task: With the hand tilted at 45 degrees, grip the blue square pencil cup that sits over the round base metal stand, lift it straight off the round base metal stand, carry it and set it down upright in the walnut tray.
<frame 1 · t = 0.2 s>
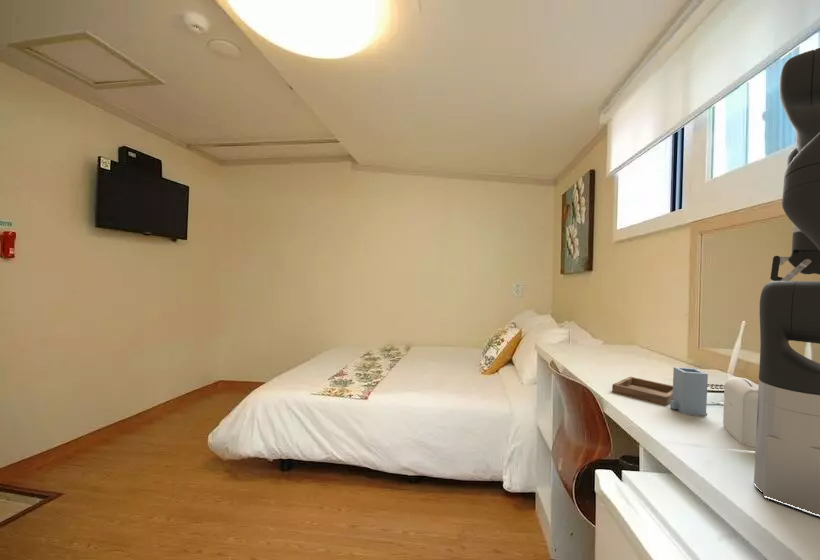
hand: (812, 300, 84), 29 cm above the table, tool pointing down, fingers open, 8 cm apart
external hard drive: (748, 412, 92), on the table
round base metal stand: (688, 412, 90), on the table
blue square pencil cup: (688, 410, 90), resting on round base metal stand
tray: (646, 394, 102), on the table
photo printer: (742, 438, 76), on the table
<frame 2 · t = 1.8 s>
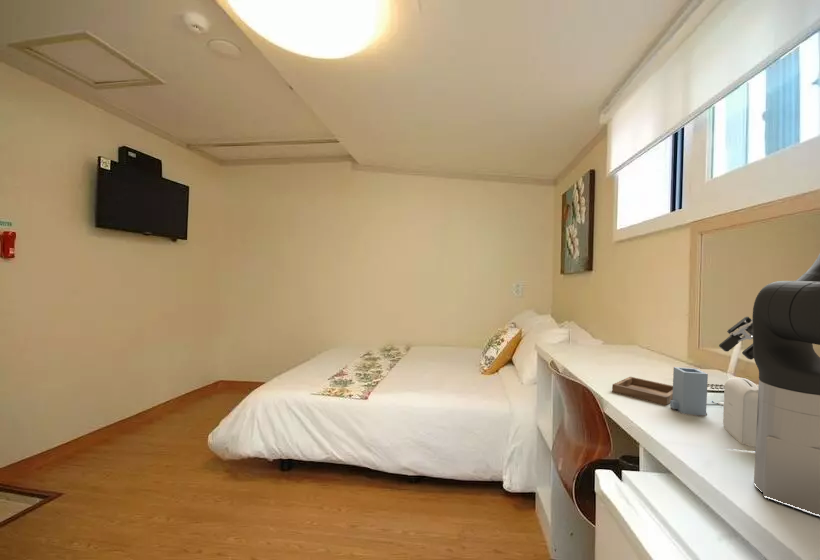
hand: (733, 352, 88), 15 cm above the table, tool tilted 45°, fingers open, 8 cm apart
nothing on the table moved.
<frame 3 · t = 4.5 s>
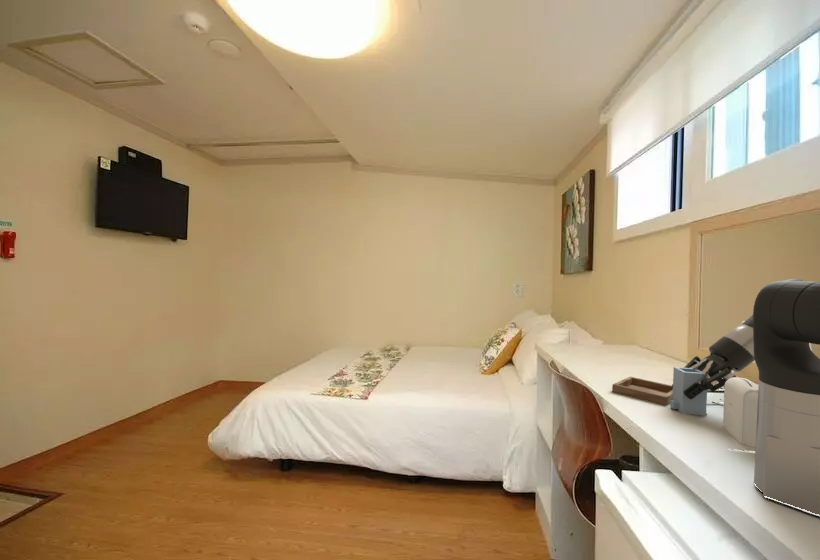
hand: (680, 392, 90), 5 cm above the table, tool tilted 45°, fingers closed on blue square pencil cup, 5 cm apart
blue square pencil cup: (688, 410, 90), resting on round base metal stand, touching gripper
everything else where it was.
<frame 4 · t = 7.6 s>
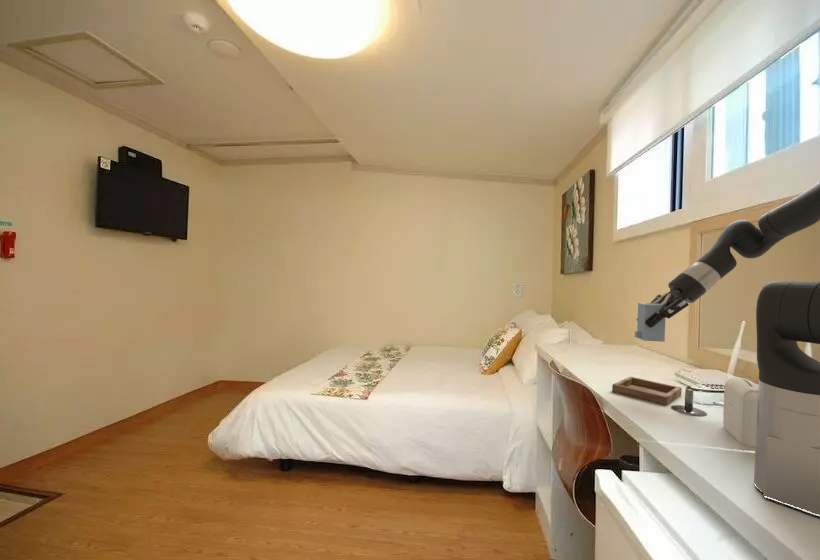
hand: (643, 323, 102), 20 cm above the table, tool tilted 45°, fingers closed on blue square pencil cup, 5 cm apart
blue square pencil cup: (650, 339, 101), point 16 cm above the table, touching gripper
everything else where it was.
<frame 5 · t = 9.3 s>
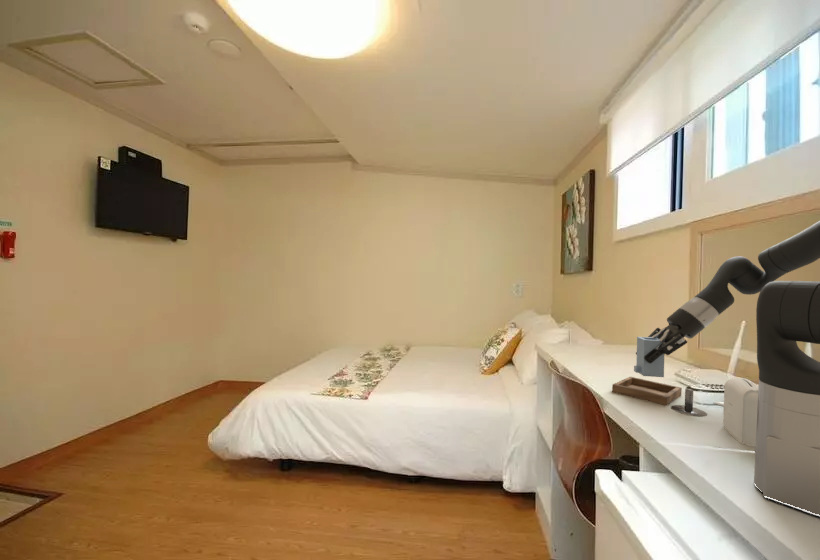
hand: (642, 358, 102), 10 cm above the table, tool tilted 45°, fingers closed on blue square pencil cup, 5 cm apart
blue square pencil cup: (649, 374, 102), point 6 cm above the table, touching gripper
everything else where it was.
when the fingers open (6 cm above the table, at t = 10.6 s): blue square pencil cup drops 1 cm, resting on tray.
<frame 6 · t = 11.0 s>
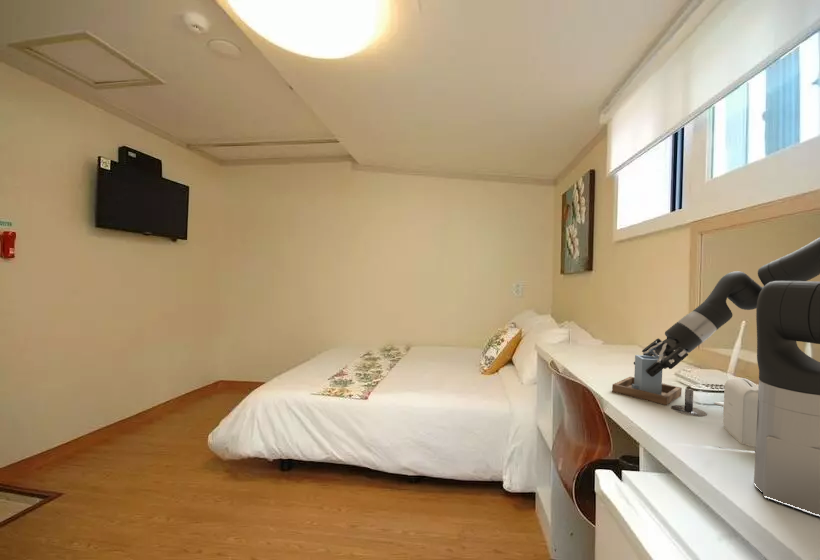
hand: (642, 369, 102), 7 cm above the table, tool tilted 45°, fingers open, 8 cm apart
blue square pencil cup: (647, 392, 102), point 1 cm above the table, touching tray
everything else where it was.
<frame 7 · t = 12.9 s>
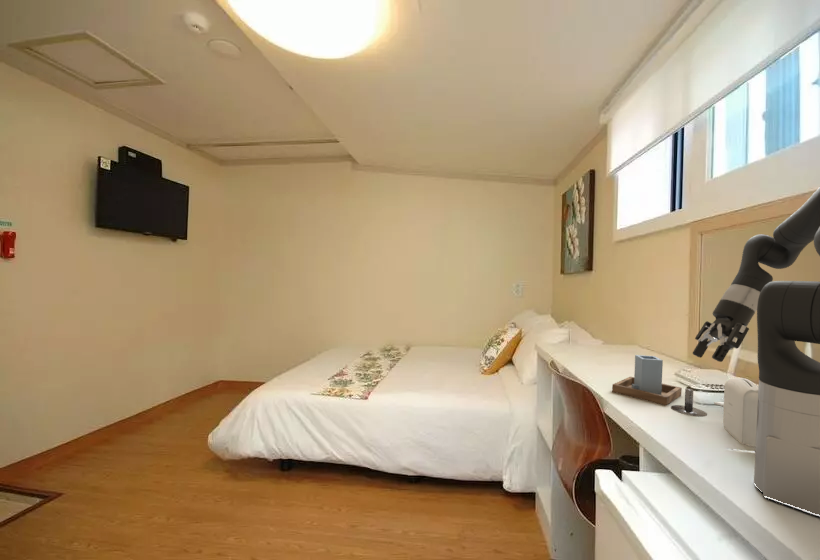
hand: (705, 357, 97), 12 cm above the table, tool tilted 30°, fingers open, 8 cm apart
nothing on the table moved.
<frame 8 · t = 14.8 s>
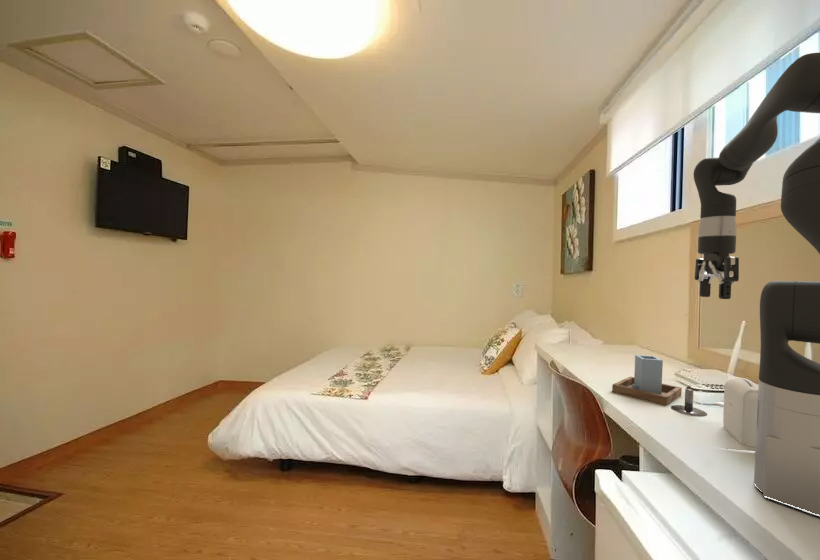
hand: (714, 297, 94), 28 cm above the table, tool pointing down, fingers open, 8 cm apart
nothing on the table moved.
at the end: blue square pencil cup inside the target area on the tray (0.2 cm from its centre), point 0.6 cm above the tray's base; blue square pencil cup tilted 0°; the gripper is holding nothing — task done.
